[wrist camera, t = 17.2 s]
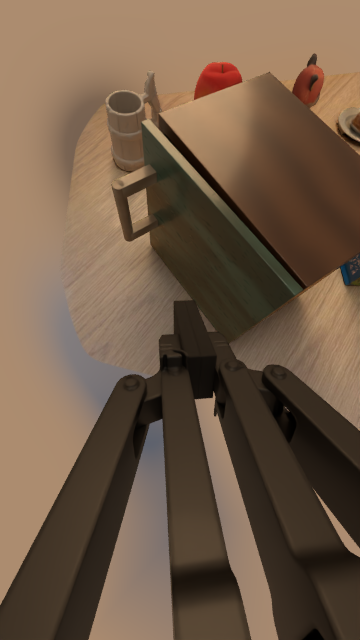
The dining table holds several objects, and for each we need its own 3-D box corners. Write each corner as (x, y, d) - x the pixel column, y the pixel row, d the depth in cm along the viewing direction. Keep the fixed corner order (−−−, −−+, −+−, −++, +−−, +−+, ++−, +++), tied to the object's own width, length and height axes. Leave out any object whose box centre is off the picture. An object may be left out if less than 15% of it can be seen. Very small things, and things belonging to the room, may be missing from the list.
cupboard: (233, 340, 38) (307, 287, 19) (159, 240, 43) (157, 113, 23) (298, 295, 41) (420, 210, 22) (224, 206, 46) (269, 71, 27)
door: (202, 363, 36) (246, 332, 17) (125, 258, 41) (93, 140, 22) (232, 341, 38) (304, 289, 19) (155, 242, 42) (149, 118, 23)
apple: (241, 132, 53) (258, 75, 43) (205, 145, 51) (215, 87, 41) (219, 105, 55) (231, 45, 45) (183, 116, 53) (188, 55, 43)
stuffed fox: (247, 120, 54) (271, 47, 42) (294, 123, 55) (329, 52, 43) (251, 144, 52) (277, 74, 40) (300, 147, 53) (338, 79, 41)
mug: (105, 157, 48) (87, 82, 36) (148, 131, 51) (144, 55, 39) (130, 179, 46) (119, 109, 35) (172, 151, 49) (175, 79, 38)
